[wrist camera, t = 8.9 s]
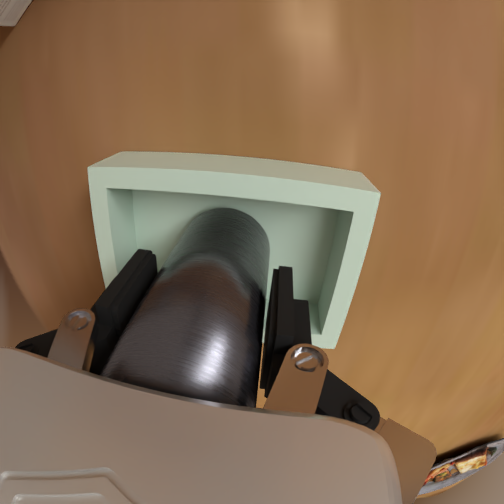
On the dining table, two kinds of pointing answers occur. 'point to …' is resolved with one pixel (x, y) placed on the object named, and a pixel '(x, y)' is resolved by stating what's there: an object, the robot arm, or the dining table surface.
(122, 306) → the robot arm
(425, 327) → the dining table surface
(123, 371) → the cylinder
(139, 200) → the trough
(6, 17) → the small box
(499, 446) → the food plate
